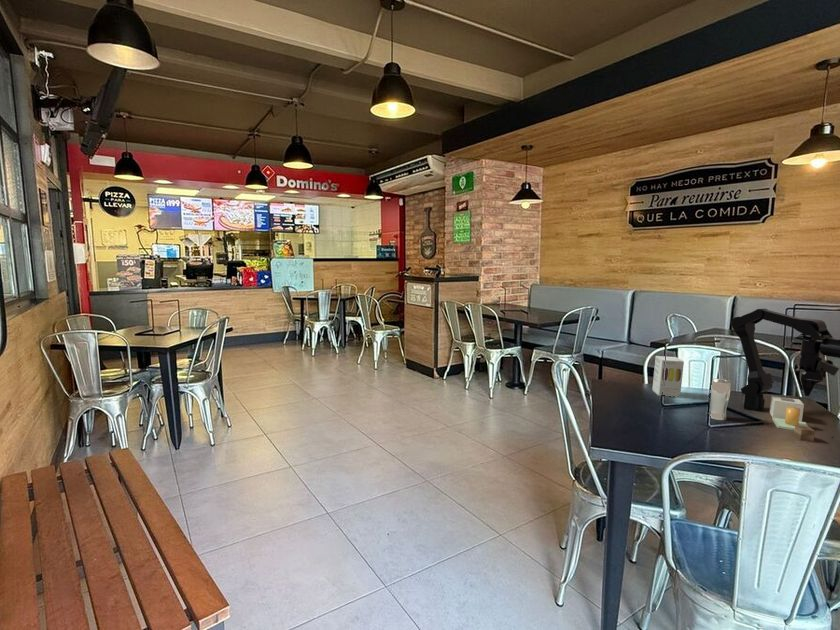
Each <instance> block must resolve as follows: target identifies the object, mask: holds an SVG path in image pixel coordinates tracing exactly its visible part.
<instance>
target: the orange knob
mask: <svg viewBox="0 0 840 630" xmlns="http://www.w3.org/2000/svg"><path fill="white" fill-rule="evenodd" d="M799 416H800V409H799V408H795V407H787V409H786V417H785V423H786V424H788V425H793V426H795V425H796V426H798V425H799Z"/></svg>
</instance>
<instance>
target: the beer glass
mask: <svg viewBox="0 0 840 630" xmlns="http://www.w3.org/2000/svg"><path fill="white" fill-rule="evenodd" d="M711 379H712V385H711V390H710V388H709V392H708V394H710V393H711V414H710V416H711V418H710V419H712V420H715V421H716V420H717V421H726V420H727V407H728V404H729V401H730V398H731V392H732V386H731V384H732V382H731V381H730V380H728V379H723V378H711Z"/></svg>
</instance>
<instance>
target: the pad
mask: <svg viewBox="0 0 840 630" xmlns="http://www.w3.org/2000/svg"><path fill="white" fill-rule="evenodd" d="M771 420H772V422H773V423H774V424H775V426H776V428H777V429H783V430H789V431H794V430H795V426H793V425H788V424H786V423H785V419H780V418H773V417H772V419H771ZM798 426H807V427H810V426H809V425H808V424H807V422H805V421H802V422H800V421H799V425H798Z"/></svg>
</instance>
